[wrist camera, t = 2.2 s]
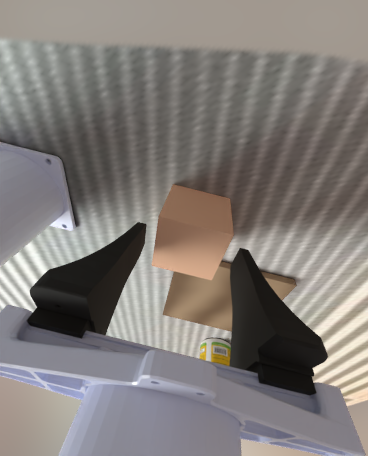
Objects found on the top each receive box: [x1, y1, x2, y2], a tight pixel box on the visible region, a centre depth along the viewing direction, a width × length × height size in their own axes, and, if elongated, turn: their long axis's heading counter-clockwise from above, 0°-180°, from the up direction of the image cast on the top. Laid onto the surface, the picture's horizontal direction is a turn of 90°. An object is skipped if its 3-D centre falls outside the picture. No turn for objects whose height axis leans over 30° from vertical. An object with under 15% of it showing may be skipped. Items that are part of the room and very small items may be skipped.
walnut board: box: [163, 261, 297, 332], centre depth 24 cm, size 13×13×1 cm
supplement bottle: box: [200, 338, 231, 366], centre depth 30 cm, size 5×5×10 cm
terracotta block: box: [152, 184, 234, 280], centre depth 16 cm, size 5×5×5 cm
